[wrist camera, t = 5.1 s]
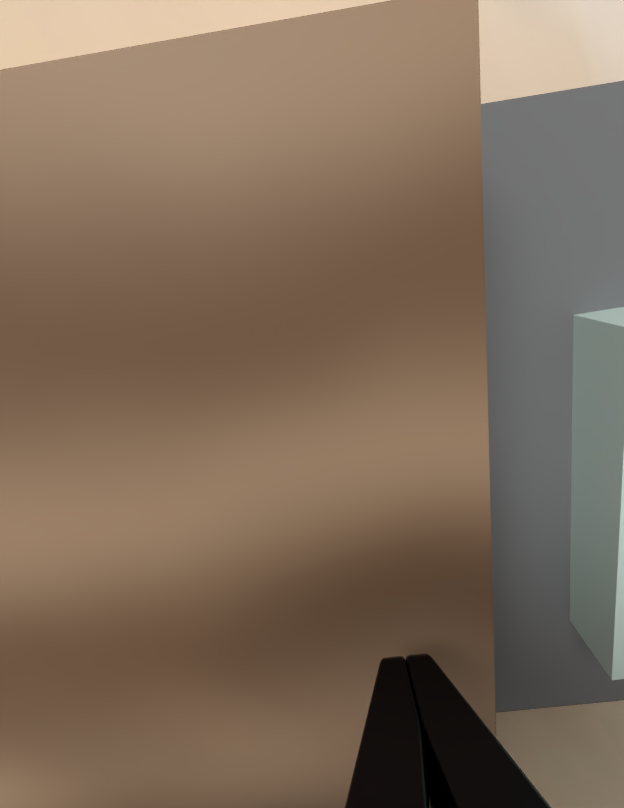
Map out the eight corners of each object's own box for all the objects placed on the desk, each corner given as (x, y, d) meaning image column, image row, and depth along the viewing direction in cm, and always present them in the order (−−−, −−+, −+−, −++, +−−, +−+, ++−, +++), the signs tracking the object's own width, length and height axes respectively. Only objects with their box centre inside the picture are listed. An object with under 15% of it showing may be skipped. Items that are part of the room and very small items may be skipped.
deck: (455, 760, 16) (500, 922, 12) (118, 792, 16) (58, 955, 13) (412, 91, 10) (478, -16, 6) (-129, 182, 10) (-394, 139, 6)
